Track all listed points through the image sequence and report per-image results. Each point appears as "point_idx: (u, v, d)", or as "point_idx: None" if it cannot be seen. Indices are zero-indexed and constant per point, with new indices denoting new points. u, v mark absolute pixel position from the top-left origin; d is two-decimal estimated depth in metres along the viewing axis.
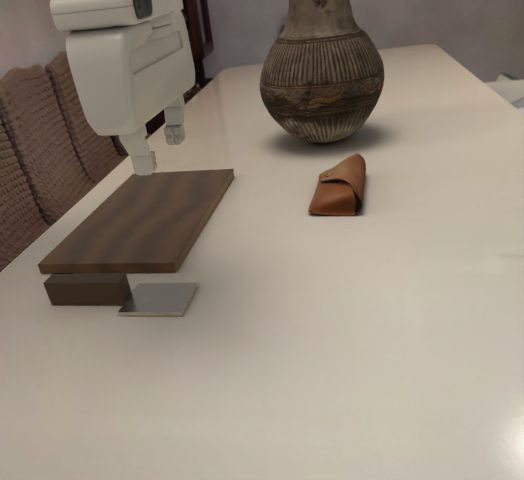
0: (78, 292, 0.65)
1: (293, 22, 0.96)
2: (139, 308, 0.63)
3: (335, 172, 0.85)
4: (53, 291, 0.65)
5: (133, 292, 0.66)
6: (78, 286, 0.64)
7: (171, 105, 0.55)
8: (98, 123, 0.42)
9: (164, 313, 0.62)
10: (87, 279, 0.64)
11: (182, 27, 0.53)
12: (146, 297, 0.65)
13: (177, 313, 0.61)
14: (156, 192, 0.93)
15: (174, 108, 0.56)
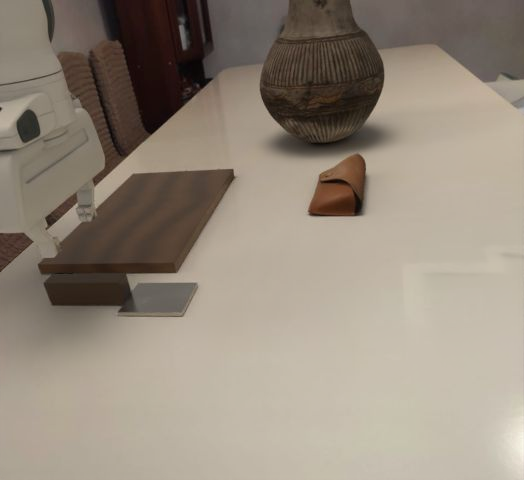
0: (78, 292, 0.65)
1: (293, 22, 0.96)
2: (139, 308, 0.63)
3: (335, 172, 0.85)
4: (53, 291, 0.65)
5: (133, 292, 0.66)
6: (78, 286, 0.64)
7: (81, 189, 0.64)
8: None
9: (164, 313, 0.62)
10: (87, 279, 0.64)
11: (87, 124, 0.61)
12: (146, 297, 0.65)
13: (177, 313, 0.61)
14: (156, 192, 0.93)
15: (85, 191, 0.64)
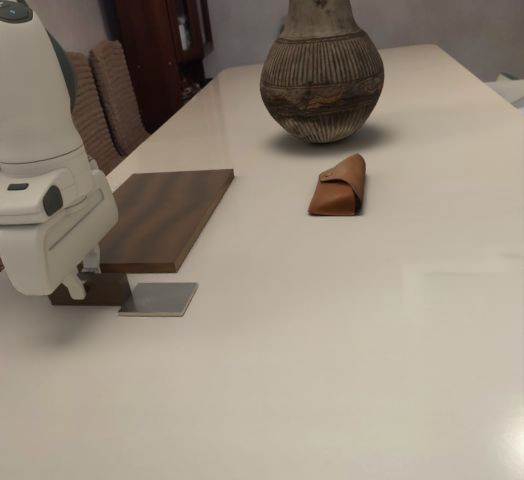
0: None
1: (293, 22, 0.96)
2: (139, 308, 0.63)
3: (335, 172, 0.85)
4: (53, 291, 0.65)
5: (133, 292, 0.66)
6: None
7: None
8: (22, 289, 0.55)
9: (164, 313, 0.62)
10: (87, 279, 0.65)
11: (102, 184, 0.65)
12: (146, 297, 0.65)
13: (177, 313, 0.61)
14: (156, 192, 0.93)
15: (90, 254, 0.66)
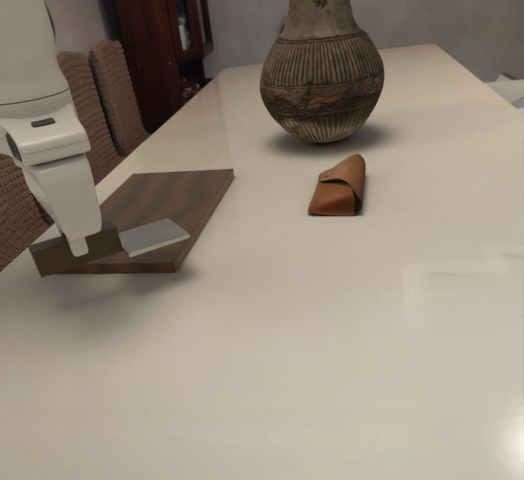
0: None
1: (293, 22, 0.96)
2: (145, 245, 0.64)
3: (335, 172, 0.85)
4: (44, 259, 0.60)
5: None
6: None
7: None
8: (77, 229, 0.52)
9: (174, 239, 0.65)
10: None
11: None
12: (138, 238, 0.66)
13: (185, 236, 0.66)
14: (156, 192, 0.93)
15: None
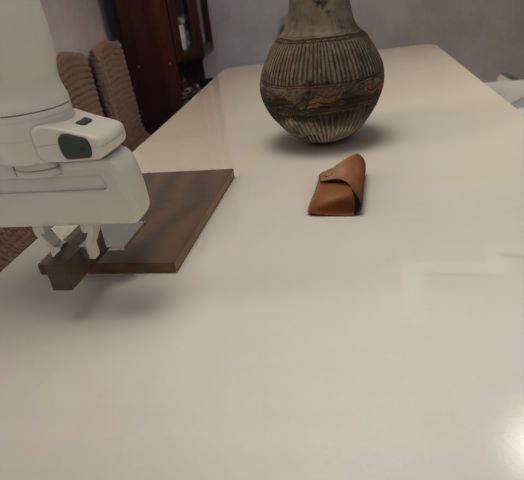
0: None
1: (293, 22, 0.96)
2: (124, 238, 0.69)
3: (335, 172, 0.85)
4: (70, 270, 0.60)
5: None
6: None
7: (49, 228, 0.62)
8: (142, 210, 0.57)
9: (139, 228, 0.72)
10: (79, 243, 0.63)
11: None
12: (106, 238, 0.70)
13: (143, 223, 0.73)
14: (156, 192, 0.93)
15: (47, 232, 0.62)
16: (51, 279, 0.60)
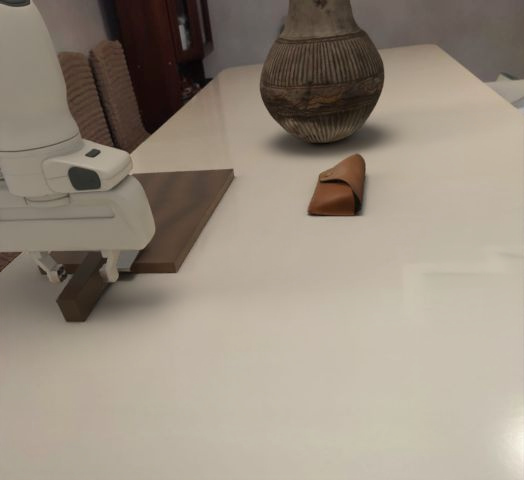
0: (92, 287, 0.65)
1: (293, 22, 0.96)
2: (129, 257, 0.71)
3: (335, 172, 0.85)
4: (81, 303, 0.62)
5: None
6: (91, 279, 0.64)
7: (45, 253, 0.64)
8: (148, 237, 0.59)
9: None
10: (87, 271, 0.65)
11: None
12: None
13: None
14: (156, 192, 0.93)
15: (44, 256, 0.64)
16: (63, 312, 0.62)
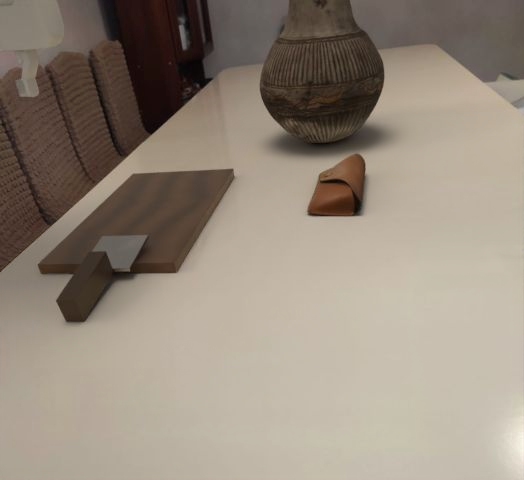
0: (92, 287, 0.65)
1: (293, 22, 0.96)
2: (129, 257, 0.71)
3: (335, 172, 0.85)
4: (81, 303, 0.62)
5: None
6: (91, 279, 0.64)
7: None
8: (54, 33, 0.54)
9: (143, 243, 0.73)
10: (87, 271, 0.65)
11: None
12: (111, 257, 0.71)
13: (147, 237, 0.74)
14: (156, 192, 0.93)
15: None
16: (63, 312, 0.62)
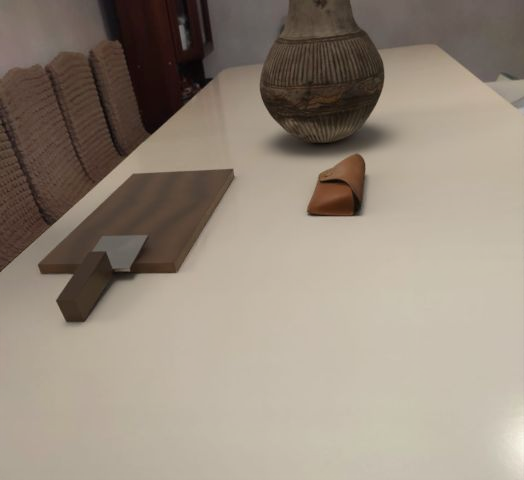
0: (92, 287, 0.65)
1: (293, 22, 0.96)
2: (129, 257, 0.71)
3: (334, 172, 0.85)
4: (81, 303, 0.62)
5: None
6: (91, 279, 0.64)
7: None
8: None
9: (143, 243, 0.73)
10: (87, 271, 0.65)
11: None
12: (111, 257, 0.71)
13: (147, 237, 0.74)
14: (156, 192, 0.93)
15: None
16: (63, 312, 0.62)
